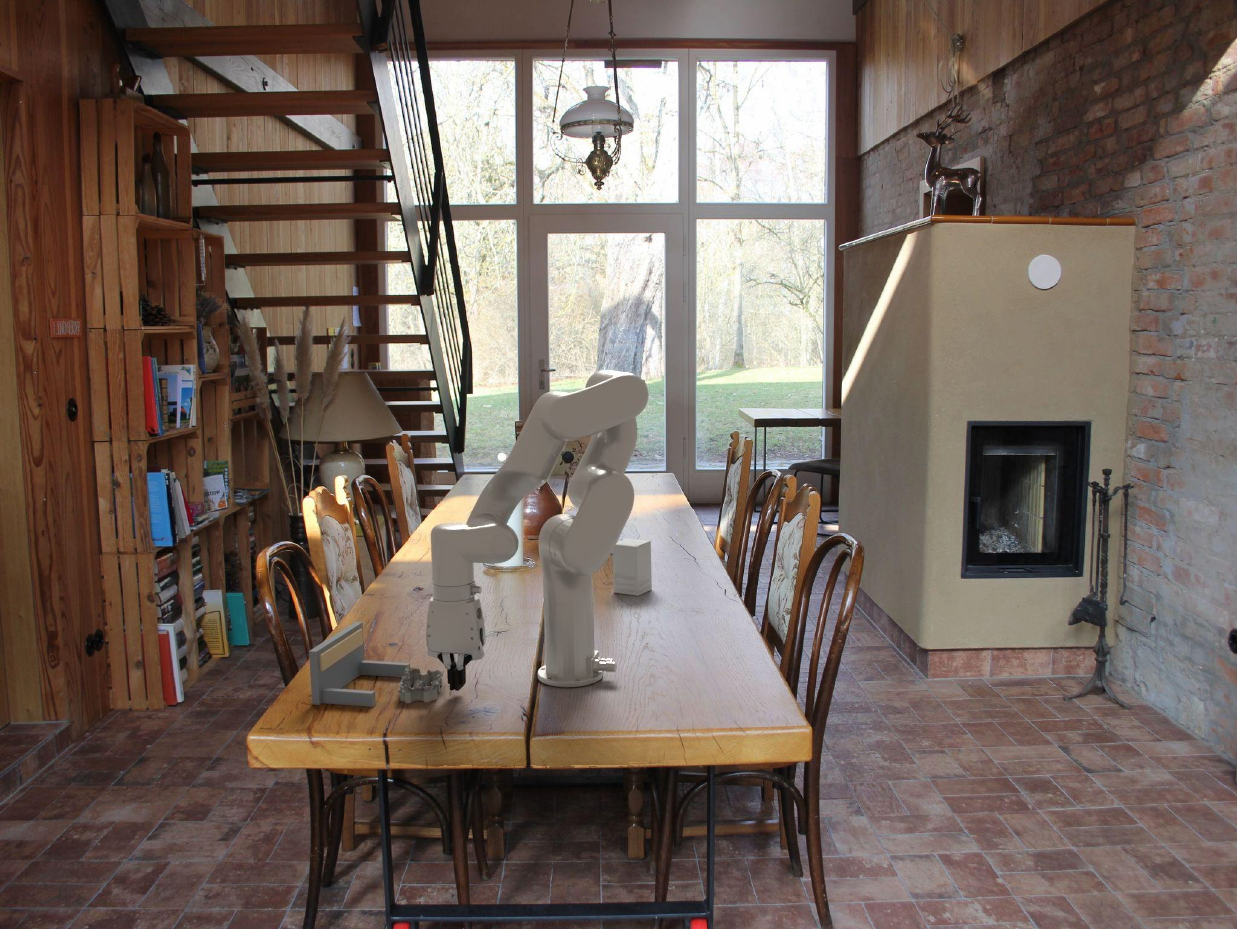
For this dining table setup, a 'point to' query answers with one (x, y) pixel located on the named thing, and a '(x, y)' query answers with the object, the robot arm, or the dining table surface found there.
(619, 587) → the supplement box
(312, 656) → the display stand
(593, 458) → the robot arm
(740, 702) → the dining table surface
